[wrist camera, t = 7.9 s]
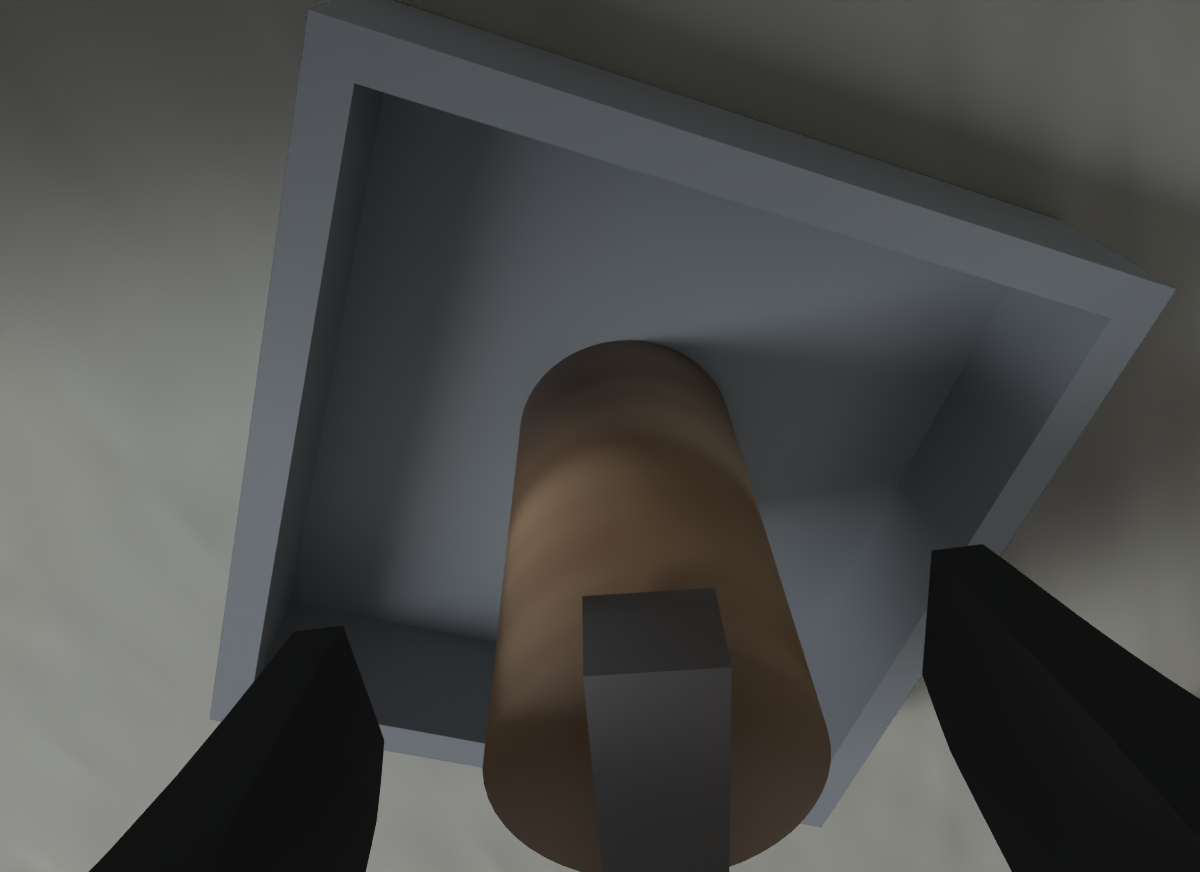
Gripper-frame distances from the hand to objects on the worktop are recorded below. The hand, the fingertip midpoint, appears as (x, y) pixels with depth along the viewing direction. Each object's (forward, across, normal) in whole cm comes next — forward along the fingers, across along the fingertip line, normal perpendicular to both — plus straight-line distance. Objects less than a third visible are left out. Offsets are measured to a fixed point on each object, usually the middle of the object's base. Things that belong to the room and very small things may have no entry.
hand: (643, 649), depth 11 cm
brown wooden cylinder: (+5, 0, 0) cm, 5 cm away
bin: (+6, 0, 0) cm, 6 cm away
